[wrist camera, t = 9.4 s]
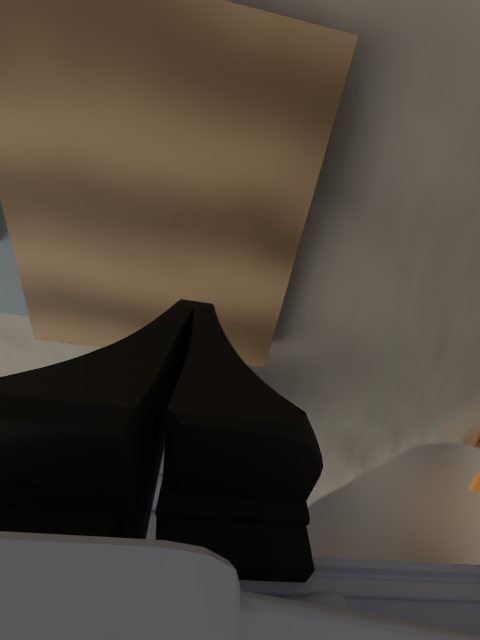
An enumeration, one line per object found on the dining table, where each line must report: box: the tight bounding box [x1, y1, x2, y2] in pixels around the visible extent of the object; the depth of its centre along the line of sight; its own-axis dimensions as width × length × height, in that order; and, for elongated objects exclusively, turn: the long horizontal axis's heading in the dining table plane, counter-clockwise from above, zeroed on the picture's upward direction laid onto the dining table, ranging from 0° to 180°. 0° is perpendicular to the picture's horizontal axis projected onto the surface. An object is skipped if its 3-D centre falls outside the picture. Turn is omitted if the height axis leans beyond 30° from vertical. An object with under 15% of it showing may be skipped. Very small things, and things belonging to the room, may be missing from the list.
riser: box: [0, 0, 359, 367], centre depth 16 cm, size 18×16×3 cm
